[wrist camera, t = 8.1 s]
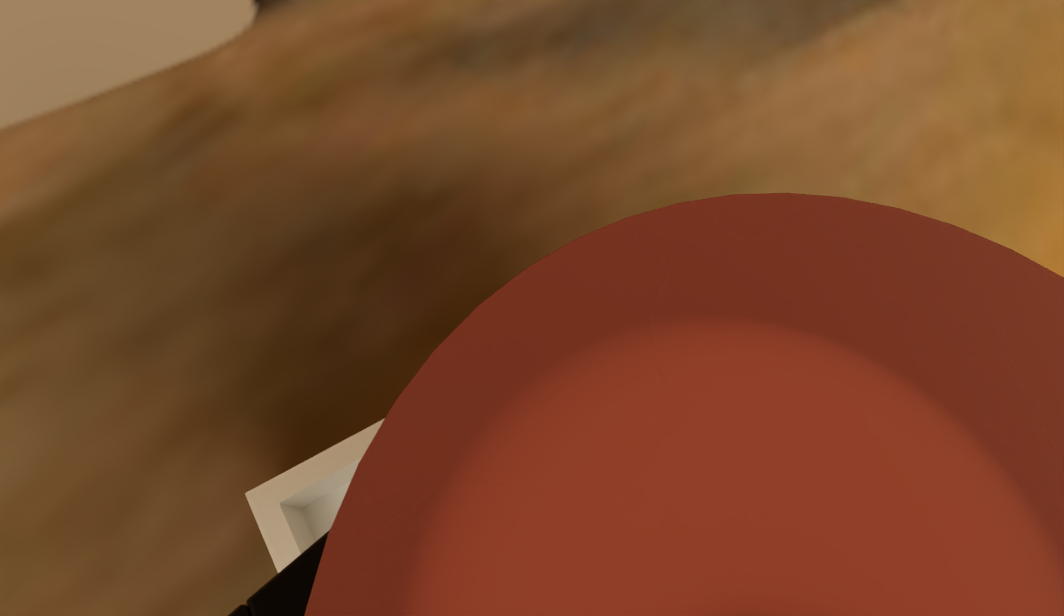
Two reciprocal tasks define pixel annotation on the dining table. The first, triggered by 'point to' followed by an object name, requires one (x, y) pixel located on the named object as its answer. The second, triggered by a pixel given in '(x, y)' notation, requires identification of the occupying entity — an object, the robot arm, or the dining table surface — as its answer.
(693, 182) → the dining table surface
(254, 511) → the tray
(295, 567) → the robot arm
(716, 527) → the stop pin
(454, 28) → the dining table surface
